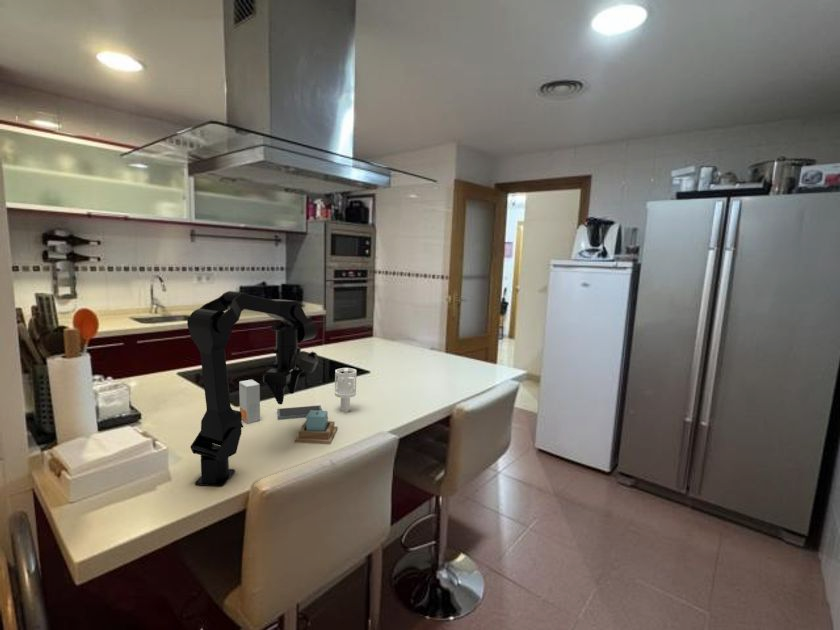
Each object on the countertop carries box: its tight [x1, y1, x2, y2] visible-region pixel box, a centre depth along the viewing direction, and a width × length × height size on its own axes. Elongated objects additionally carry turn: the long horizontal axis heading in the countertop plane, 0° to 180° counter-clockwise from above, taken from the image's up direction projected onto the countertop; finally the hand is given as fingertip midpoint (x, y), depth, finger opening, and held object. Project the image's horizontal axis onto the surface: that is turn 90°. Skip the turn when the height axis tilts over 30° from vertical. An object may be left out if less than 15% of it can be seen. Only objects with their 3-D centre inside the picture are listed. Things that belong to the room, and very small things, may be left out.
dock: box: [294, 420, 338, 445], centre depth 119 cm, size 10×10×3 cm
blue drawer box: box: [305, 410, 328, 431], centre depth 119 cm, size 4×5×6 cm
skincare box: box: [238, 379, 261, 424], centre depth 128 cm, size 6×4×12 cm
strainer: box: [334, 367, 357, 413], centre depth 139 cm, size 7×7×15 cm
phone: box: [276, 405, 323, 421], centre depth 135 cm, size 7×14×1 cm, turn 110°
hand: (286, 398), depth 116 cm, fingers open, 9 cm apart
